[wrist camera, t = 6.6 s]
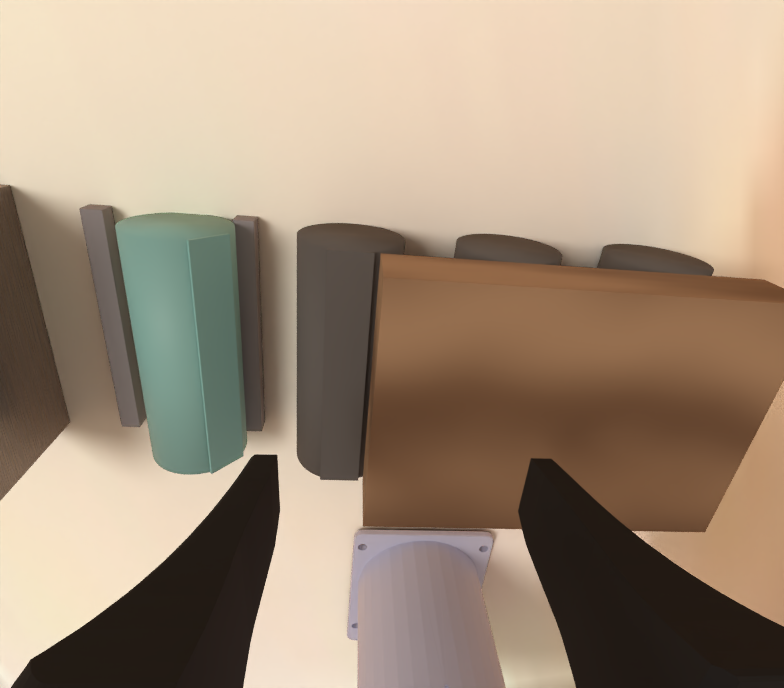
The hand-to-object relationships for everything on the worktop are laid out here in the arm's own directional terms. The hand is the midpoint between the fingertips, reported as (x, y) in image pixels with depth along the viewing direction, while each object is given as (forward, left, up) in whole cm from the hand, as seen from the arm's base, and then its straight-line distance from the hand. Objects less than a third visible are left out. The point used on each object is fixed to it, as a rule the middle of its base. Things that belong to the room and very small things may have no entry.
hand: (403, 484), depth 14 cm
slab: (0, -6, -6) cm, 8 cm away
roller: (0, +10, -9) cm, 13 cm away
